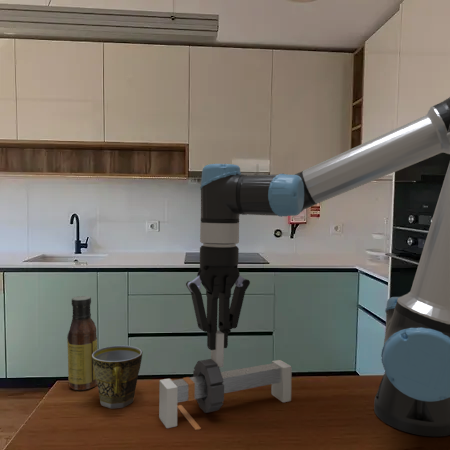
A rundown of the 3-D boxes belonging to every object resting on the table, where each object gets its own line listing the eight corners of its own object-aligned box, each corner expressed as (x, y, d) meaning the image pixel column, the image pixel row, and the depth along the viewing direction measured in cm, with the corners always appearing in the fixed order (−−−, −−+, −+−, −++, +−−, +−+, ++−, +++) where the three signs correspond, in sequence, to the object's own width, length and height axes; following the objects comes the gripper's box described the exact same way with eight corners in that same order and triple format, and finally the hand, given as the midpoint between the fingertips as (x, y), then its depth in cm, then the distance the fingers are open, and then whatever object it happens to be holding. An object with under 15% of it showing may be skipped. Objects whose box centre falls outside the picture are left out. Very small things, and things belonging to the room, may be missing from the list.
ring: (204, 397, 87) (204, 354, 87) (223, 417, 79) (224, 369, 79) (193, 399, 86) (193, 355, 86) (211, 419, 78) (212, 371, 78)
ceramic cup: (92, 393, 91) (93, 346, 91) (140, 389, 94) (141, 343, 93) (89, 422, 78) (89, 369, 78) (144, 417, 81) (145, 365, 81)
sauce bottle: (86, 378, 99) (86, 293, 98) (104, 384, 95) (104, 296, 95) (61, 387, 94) (61, 297, 93) (78, 394, 90) (79, 301, 89)
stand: (272, 387, 95) (272, 355, 95) (299, 406, 86) (299, 371, 86) (154, 411, 83) (155, 374, 83) (171, 435, 74) (172, 395, 74)
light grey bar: (277, 376, 92) (277, 361, 91) (285, 382, 89) (285, 366, 89) (165, 397, 80) (165, 380, 80) (171, 404, 78) (171, 387, 78)
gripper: (240, 242, 89) (237, 354, 90) (180, 243, 83) (179, 363, 84) (258, 245, 82) (255, 366, 83) (195, 247, 76) (193, 377, 77)
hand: (217, 364), depth 84 cm, fingers closed
